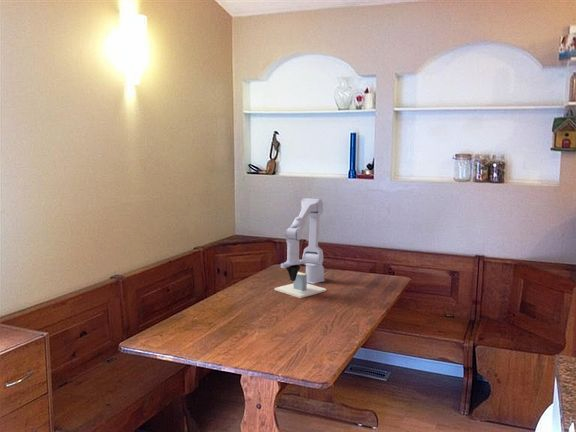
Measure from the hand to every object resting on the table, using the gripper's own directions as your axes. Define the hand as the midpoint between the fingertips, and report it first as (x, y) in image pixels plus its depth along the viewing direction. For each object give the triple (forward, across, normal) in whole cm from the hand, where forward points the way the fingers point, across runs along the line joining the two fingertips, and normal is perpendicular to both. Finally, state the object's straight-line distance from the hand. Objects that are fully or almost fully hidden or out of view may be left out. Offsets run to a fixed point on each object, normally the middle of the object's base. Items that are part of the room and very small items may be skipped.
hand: (292, 280), depth 253 cm
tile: (+6, -6, -1) cm, 9 cm away
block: (+5, -5, 0) cm, 8 cm away
